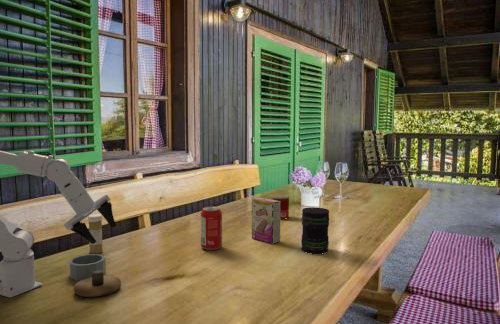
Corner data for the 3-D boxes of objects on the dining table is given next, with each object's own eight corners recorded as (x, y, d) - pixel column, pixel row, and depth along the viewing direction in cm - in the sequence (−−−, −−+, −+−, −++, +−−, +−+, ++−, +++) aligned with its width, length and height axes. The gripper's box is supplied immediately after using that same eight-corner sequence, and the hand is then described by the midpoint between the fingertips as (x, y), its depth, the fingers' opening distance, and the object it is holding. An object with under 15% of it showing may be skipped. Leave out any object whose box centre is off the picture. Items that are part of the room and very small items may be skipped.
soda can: (197, 249, 144) (196, 209, 143) (206, 243, 151) (206, 205, 150) (216, 252, 141) (216, 211, 140) (225, 246, 149) (225, 207, 147)
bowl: (86, 282, 114) (85, 267, 113) (62, 276, 118) (61, 261, 118) (112, 271, 123) (111, 257, 122) (89, 265, 127) (88, 252, 127)
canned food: (291, 217, 195) (291, 195, 194) (283, 220, 189) (284, 198, 188) (277, 215, 199) (277, 194, 198) (269, 218, 193) (270, 196, 192)
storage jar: (312, 244, 151) (312, 206, 150) (333, 250, 144) (334, 210, 143) (295, 250, 144) (296, 210, 143) (317, 256, 137) (318, 214, 136)
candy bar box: (251, 239, 158) (251, 198, 157) (259, 236, 162) (259, 197, 160) (272, 244, 150) (273, 202, 149) (280, 242, 154) (281, 200, 153)
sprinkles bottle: (91, 250, 143) (90, 213, 142) (104, 249, 143) (103, 213, 142) (87, 254, 138) (86, 216, 137) (101, 254, 139) (99, 216, 138)
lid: (96, 303, 101) (96, 284, 100) (64, 294, 106) (63, 276, 106) (130, 286, 112) (129, 269, 111) (99, 278, 117) (98, 262, 116)
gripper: (60, 209, 105) (90, 249, 108) (103, 180, 115) (129, 218, 118) (51, 212, 109) (79, 251, 113) (92, 184, 119) (117, 220, 123)
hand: (104, 234), depth 116 cm, fingers open, 7 cm apart
